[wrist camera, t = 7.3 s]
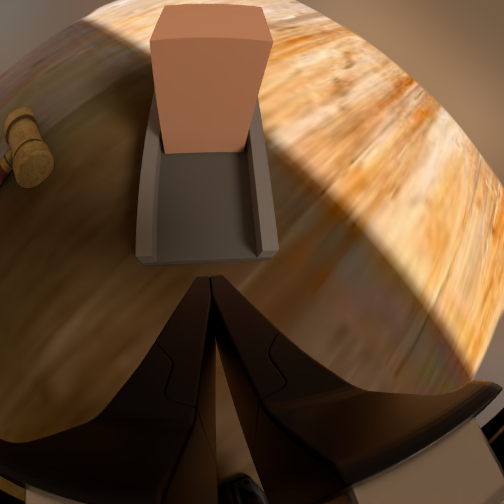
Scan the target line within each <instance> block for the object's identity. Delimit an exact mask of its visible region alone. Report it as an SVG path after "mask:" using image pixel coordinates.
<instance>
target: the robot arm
mask: <svg viewBox="0 0 504 504" xmlns="http://www.w3.org/2000/svg"><path fill="white" fill-rule="evenodd" d="M214 328H215V329H214ZM215 337H216V340H215ZM216 343H217V347H218V351H219V354H220V358H221V362H222V365H223V369H224V372H225V376H226V379H227V382H228V386H229V389H230V393H231V396H232V399H233V402H234V406H235V409H236V412H237V415H238V418H239V421H240V424H241V427H242V430H243V433H244V436H245V439H246V442H247V445H248V448H249V451H250V454H251V457H252V459H253V462H254V465H255V468H256V471H257V473H258V476H259V479H260V481H261V484H262V487H263V489H264V492H265V493H264V492H263V490H262V489H261V488H260V487H259V486H258V485H257V484H256V483H255V482H254V481H253V480H252V478H251V477H249V476H243V477H241V478H239V479H237V480H234V481H232V482H230V483H228V484H223V485H221V486H218V487H217V466H216V417H215V372H216ZM501 391H502V387H501V386H499V385H498V384H495V383H493V382H490V381H481V380H473V381H470V382H469V383H467V384H466V385H464V386H463V387H461V388H459V389H457V390H455V391H452V392H449V393H444V394H432V395H429V394H400V393H385V392H373V391H367V390H363V389H361V388H358V387H356V386H354V385H352V384H350V383H348V382H347V381H345V380H344V379H342V378H341V377H339V376H338V375H336V374H335V373H333V372H332V371H330V370H329V369H327V368H326V367H325V366H323V365H322V364H320V363H319V362H317V361H316V360H314V359H313V358H312V357H310V356H309V355H308V354H306V353H305V352H304V351H302V350H301V349H300V348H299V347H298V346H296V345H295V344H294V343H293V342H292V341H291V340H289V339H288V338H287V337H286V336H285V335H284V334H283V333H282V332H280V331H279V329H277V328H276V327H275V326H274V325H273V324H272V323H271V322H270V321H269V320H268V319H267V318H266V317H265V316H264V315H263V314H262V313H261V312H260V311H259V310H258V309H256V308H255V307H254V306H253V305H252V304H251V303H250V302H249V301H248V300H247V299H246V298H245V297H244V296H243V295H242V294H241V293H240V292H239V291H238V290H237V289H236V288H235V287H234V286H233V285H232V284H231V283H230V282H229V281H228V280H227V279H226V278H225V277H224V276H222V275H217V276H211V277H210V278H209V277H208V276H204V277H197V278H196V279H195V280H194V282H193V283H192V285H191V286H190V288H189V289H188V291H187V292H186V294H185V295H184V297H183V298H182V300H181V302H180V303H179V305H178V306H177V308H176V309H175V311H174V312H173V314H172V316H171V317H170V319H169V320H168V322H167V323H166V325H165V326H164V328H163V330H162V331H161V333H160V334H159V336H158V338H157V339H156V341H155V343H154V344H153V345H152V347H151V349H150V350H149V352H148V353H147V355H146V356H145V358H144V359H143V361H142V362H141V364H140V365H139V366H138V368H137V369H136V370H135V372H134V373H133V374H132V376H131V377H130V378H129V379H128V381H127V382H126V383H125V384H124V385H123V387H122V388H121V389H120V390H119V392H118V393H117V394H116V395H115V397H114V398H113V399H112V400H111V402H110V403H109V404H108V405H107V406H106V408H105V409H104V410H103V411H102V412H101V413H100V414H99V415H98V416H97V417H95V418H94V419H92V420H91V421H89V422H87V423H84V424H82V425H79V426H76V427H74V428H71V429H68V430H65V431H62V432H59V433H56V434H53V435H50V436H47V437H44V438H40V439H37V440H34V441H30V442H24V443H12V442H7V441H4V440H2V439H0V476H2V477H3V478H5V479H7V480H9V481H11V482H12V483H14V484H16V485H18V486H20V487H22V488H24V489H25V500H24V501H22V500H20V499H18V498H16V497H14V496H12V495H10V494H8V493H6V492H4V491H2V490H1V489H0V504H504V408H503V409H501V410H500V411H499V412H498V413H497V414H496V415H495V416H494V417H493V418H492V419H491V420H490V421H489V422H488V423H486V424H485V425H484V426H483V427H482V428H480V426H479V424H478V423H477V421H476V419H475V417H476V416H477V415H478V414H479V413H480V412H481V411H483V410H484V409H485V408H486V407H487V406H488V405H489V404H490V403H491V402H492V401H493V400H494V399H495V398H496V396H497V395H498V394H499V393H500V392H501ZM245 480H248V481H247V482H244V481H245Z"/></svg>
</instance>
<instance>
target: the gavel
mask: <svg viewBox="0 0 504 504" xmlns="http://www.w3.org/2000/svg"><path fill="white" fill-rule="evenodd" d="M4 135H5V139H6V142H7V143H8V145H9V146H10V149H9V150H8V151H7V152H6V155H4V156H3V157H2V158H1V159H0V186H1V184H2V183H3V182H4V181H5V179H6V178H7V176H8V174H9V173H10V172H11V171H12V170H13V171H14V174H15V178H16V181H17V183H18V184H19V185H20V186H21V187H23V188H33V187H36V186H37V185H39V184H40V183H41V182H43V181H44V180H45V179H46V178H47V177H48V176H49V175H50V174H51V172H52V170H53V168H54V158H53V156H52V153H51V151H50V149H49V147H48V146H47V144H45V143H44V142H43V140H42V138H41V135H40V133H39V131H38V122H37V119H36V116H35V114H34V112H33V111H32V109H30V108H27V107H23V108H19V109H17V110H15V111H14V112H12V113H11V114H10V115H9V116H8V118H7V119H6V121H5V124H4Z"/></svg>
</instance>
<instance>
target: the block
mask: <svg viewBox="0 0 504 504" xmlns="http://www.w3.org/2000/svg"><path fill="white" fill-rule="evenodd" d="M272 44H273V40H272V37H271V34H270V31H269V28H268V25H267V22H266V19H265V16H264V13H263V10H262V8H261V7H255V6H245V5H230V4H182V5H167V6H164V9H163V11H162V13H161V15H160V17H159V20H158V22H157V24H156V27H155V29H154V31H153V34H152V36H151V39H150V49H151V59H152V68H153V77H154V85H155V93H156V100H157V107H158V114H159V121H160V127H161V133H162V139H163V145H164V151H165V154H175V153H201V152H243V151H244V147H245V143H246V139H247V135H248V131H249V127H250V123H251V120H252V116H253V112H254V108H255V104H256V101H257V97H258V93H259V90H260V86H261V82H262V79H263V75H264V72H265V68H266V65H267V61H268V58H269V54H270V51H271V47H272Z"/></svg>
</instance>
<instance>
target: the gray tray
mask: <svg viewBox="0 0 504 504" xmlns="http://www.w3.org/2000/svg"><path fill="white" fill-rule="evenodd" d="M278 251H279V246H278V238H277V229H276V221H275V213H274V205H273V198H272V190H271V182H270V175H269V168H268V161H267V154H266V147H265V140H264V133H263V127H262V120H261V114H260V107H259V101H258V97H257V101H256V104H255V108H254V112H253V116H252V120H251V123H250V127H249V131H248V135H247V139H246V143H245V147H244V151H243V152H201V153H175V154H165V151H164V145H163V139H162V133H161V127H160V121H159V114H158V107H157V100H156V93H155V89H154V94H153V99H152V104H151V109H150V114H149V119H148V125H147V131H146V137H145V144H144V151H143V159H142V167H141V175H140V185H139V196H138V209H137V226H136V256H135V257H136V258H137V259H138V260H139V261H140V262H141V263H142V264H143V265H144V266H146V265H171V264H194V263H215V262H236V261H257V260H270V259H271V258H272V257H273V256H274V255H275V254H276V253H277V252H278Z"/></svg>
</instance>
